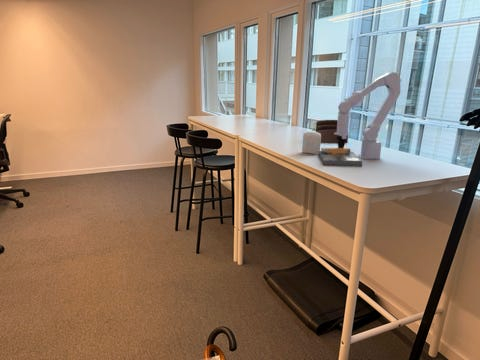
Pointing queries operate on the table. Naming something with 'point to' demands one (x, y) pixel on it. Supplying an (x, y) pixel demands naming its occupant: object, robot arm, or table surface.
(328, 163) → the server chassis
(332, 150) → the tan grey headed bar
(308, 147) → the photo printer
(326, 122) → the letter holder
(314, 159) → the table surface
